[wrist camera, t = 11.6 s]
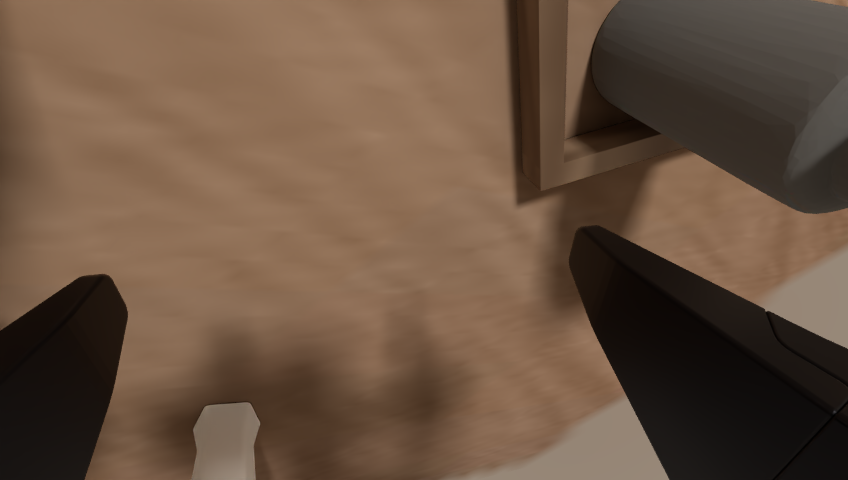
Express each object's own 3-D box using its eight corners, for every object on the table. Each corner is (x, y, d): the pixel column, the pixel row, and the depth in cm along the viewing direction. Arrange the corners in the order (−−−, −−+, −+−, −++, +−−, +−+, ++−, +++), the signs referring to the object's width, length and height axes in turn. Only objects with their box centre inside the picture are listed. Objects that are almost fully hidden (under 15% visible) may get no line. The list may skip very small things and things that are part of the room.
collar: (522, 172, 24) (540, 191, 23) (511, -145, 16) (537, -150, 15) (738, 108, 26) (769, 121, 24) (824, -212, 18) (878, -223, 16)
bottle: (723, 20, 22) (1227, 151, 11) (638, 125, 25) (980, 329, 13) (654, -55, 19) (1246, 9, 8) (565, 71, 22) (921, 271, 10)
